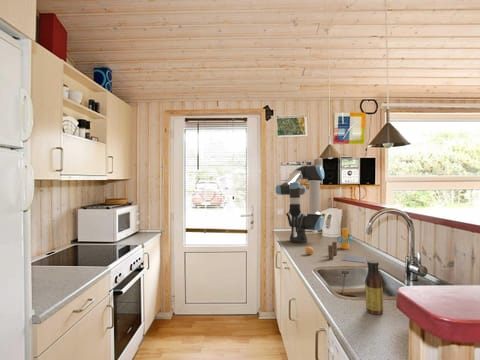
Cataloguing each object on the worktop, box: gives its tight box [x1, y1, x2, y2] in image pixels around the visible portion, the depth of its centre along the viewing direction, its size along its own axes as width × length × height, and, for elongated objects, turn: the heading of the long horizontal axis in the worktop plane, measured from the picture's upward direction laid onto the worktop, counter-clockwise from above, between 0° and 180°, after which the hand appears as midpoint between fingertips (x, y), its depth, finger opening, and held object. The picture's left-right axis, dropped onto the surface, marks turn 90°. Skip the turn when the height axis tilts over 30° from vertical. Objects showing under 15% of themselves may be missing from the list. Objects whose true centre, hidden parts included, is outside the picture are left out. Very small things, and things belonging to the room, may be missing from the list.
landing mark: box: [341, 255, 368, 264], centre depth 204 cm, size 14×14×1 cm
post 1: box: [327, 244, 334, 261], centre depth 205 cm, size 3×3×9 cm
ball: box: [305, 246, 314, 256], centre depth 218 cm, size 6×6×6 cm
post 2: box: [331, 241, 338, 256], centre depth 216 cm, size 3×3×9 cm
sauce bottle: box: [364, 259, 384, 315], centre depth 122 cm, size 7×6×20 cm
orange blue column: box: [336, 227, 354, 250], centre depth 237 cm, size 12×10×15 cm
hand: (295, 236), depth 222 cm, fingers closed
